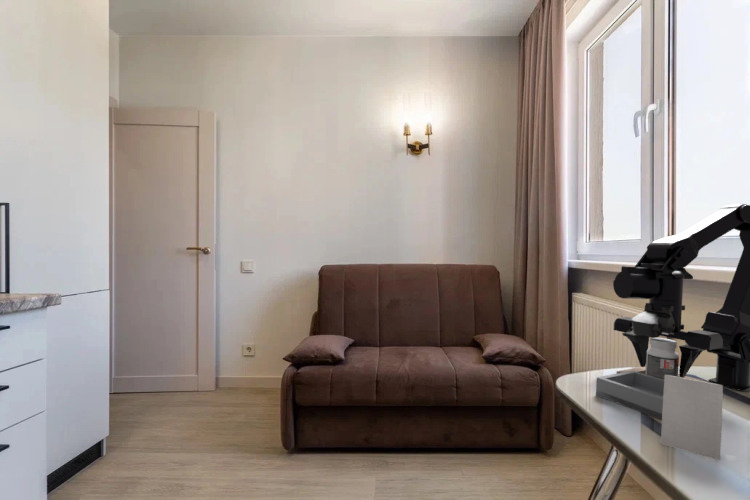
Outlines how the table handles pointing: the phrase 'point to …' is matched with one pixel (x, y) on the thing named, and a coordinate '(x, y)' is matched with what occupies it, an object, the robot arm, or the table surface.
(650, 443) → the table surface
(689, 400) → the upright grey panel
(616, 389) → the parts tray
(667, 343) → the pill bottle
